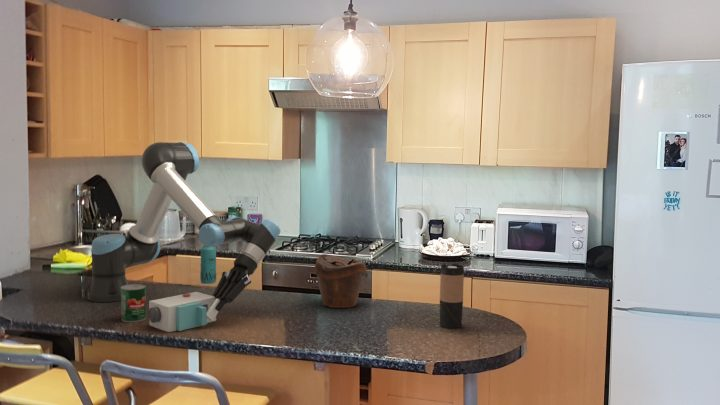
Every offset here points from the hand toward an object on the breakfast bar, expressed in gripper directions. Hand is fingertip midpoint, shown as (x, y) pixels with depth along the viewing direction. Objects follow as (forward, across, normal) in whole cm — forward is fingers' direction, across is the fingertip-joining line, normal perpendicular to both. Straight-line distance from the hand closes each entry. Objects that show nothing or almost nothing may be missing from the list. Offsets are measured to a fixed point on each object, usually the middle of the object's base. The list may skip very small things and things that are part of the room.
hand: (208, 317), depth 207 cm
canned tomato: (+10, +26, +6) cm, 28 cm away
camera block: (+4, +10, 0) cm, 11 cm away
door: (+6, +2, +2) cm, 6 cm away
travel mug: (-37, -56, -42) cm, 79 cm away
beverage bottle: (-23, +48, -28) cm, 60 cm away
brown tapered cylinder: (-34, -10, -39) cm, 53 cm away
